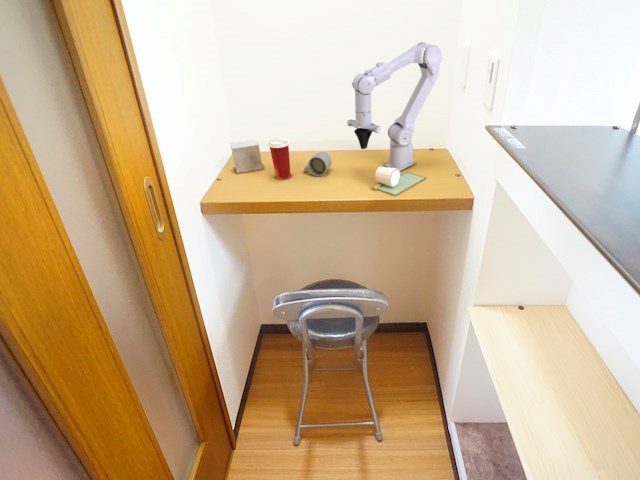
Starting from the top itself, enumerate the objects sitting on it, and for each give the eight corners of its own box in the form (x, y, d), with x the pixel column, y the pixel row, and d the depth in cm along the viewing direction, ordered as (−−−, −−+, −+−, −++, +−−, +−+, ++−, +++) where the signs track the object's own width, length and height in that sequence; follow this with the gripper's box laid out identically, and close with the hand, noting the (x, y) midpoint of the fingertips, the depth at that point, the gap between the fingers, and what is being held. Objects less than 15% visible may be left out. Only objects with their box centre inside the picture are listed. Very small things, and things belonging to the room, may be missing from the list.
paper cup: (296, 173, 156) (292, 138, 148) (286, 181, 151) (281, 145, 143) (280, 171, 159) (275, 136, 151) (269, 178, 154) (263, 142, 145)
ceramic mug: (333, 168, 159) (331, 150, 155) (327, 177, 153) (325, 157, 148) (308, 167, 162) (306, 148, 157) (301, 175, 155) (298, 156, 151)
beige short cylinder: (378, 187, 147) (394, 191, 143) (371, 176, 142) (387, 180, 138) (387, 172, 149) (403, 176, 145) (380, 160, 143) (396, 164, 139)
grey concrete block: (237, 173, 158) (231, 148, 152) (235, 168, 163) (229, 142, 157) (263, 169, 161) (258, 144, 155) (260, 163, 166) (256, 139, 160)
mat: (406, 173, 153) (406, 172, 153) (424, 178, 149) (424, 177, 149) (377, 189, 143) (377, 188, 143) (394, 195, 139) (394, 194, 138)
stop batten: (393, 178, 150) (393, 175, 149) (395, 179, 149) (395, 176, 149) (372, 189, 143) (372, 186, 143) (375, 190, 142) (375, 187, 142)
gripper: (341, 110, 144) (342, 147, 152) (371, 117, 136) (371, 155, 144) (354, 106, 148) (355, 142, 156) (384, 112, 140) (383, 150, 148)
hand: (363, 148), depth 151 cm, fingers closed
